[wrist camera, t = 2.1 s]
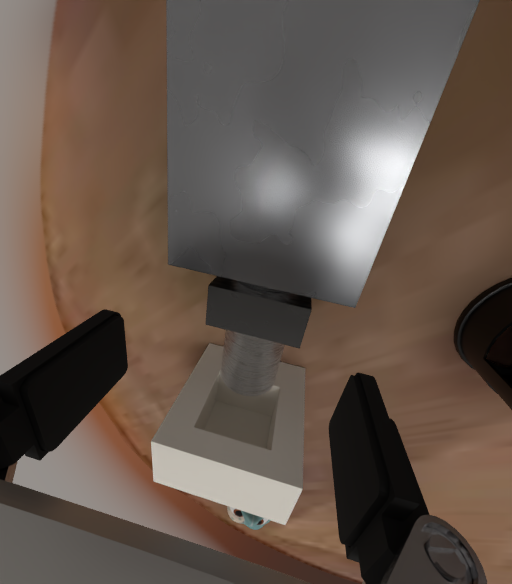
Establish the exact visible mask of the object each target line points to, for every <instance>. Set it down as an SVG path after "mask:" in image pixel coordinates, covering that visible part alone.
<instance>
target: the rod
mask: <svg viewBox="0 0 512 584" xmlns="http://www.w3.org/2000/svg"><path fill="white" fill-rule="evenodd" d="M310 313H311V297H306V296H302V295H298V294H293V293H289V292H285V291H280V290H276V289H272V288H268V287H263V286H259V285H255V284H250V283H246V282H242V281H237V280H233V279H229V278H225V277H220V276H217V277H216V278H215V279H214V280H213V281H212V282H211V283H210V284H209V287H208V300H207V313H206V325H210V326H214V327H218V328H222V329H226V332H225V340H224V348H223V356H222V364H221V378H222V380H223V382H224V384H225V385H226V386H227V387H228V388H229V389H230V390H232V391H233V392H235V393H237V394H240V395H244V396H258V395H262V394H264V393H266V392H267V391H269V390H270V389H271V388H272V386H273V385H274V382H275V379H276V375H277V371H278V368H279V364H280V360H281V357H282V353H283V349H284V346H285V345H288V346H292V347H296V348H300V345H301V342H302V339H303V336H304V332H305V329H306V326H307V323H308V319H309V316H310Z"/></svg>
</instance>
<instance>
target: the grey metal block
mask: <svg viewBox="0 0 512 584" xmlns="http://www.w3.org/2000/svg"><path fill="white" fill-rule="evenodd" d="M479 1H480V0H167V154H168V264H169V265H173V266H177V267H182V268H186V269H190V270H194V271H199V272H203V273H207V274H212V275H216V276H220V277H225V278H229V279H233V280H237V281H242V282H246V283H250V284H255V285H259V286H263V287H268V288H272V289H276V290H280V291H285V292H289V293H293V294H298V295H302V296H306V297H311V298H315V299H319V300H323V301H328V302H332V303H336V304H341V305H345V306H349V307H354V308H355V307H356V304H357V302H358V299H359V297H360V294H361V292H362V289H363V287H364V284H365V282H366V280H367V277H368V275H369V272H370V270H371V267H372V265H373V262H374V260H375V257H376V255H377V252H378V250H379V247H380V245H381V243H382V240H383V238H384V235H385V233H386V230H387V228H388V225H389V223H390V220H391V218H392V215H393V213H394V210H395V208H396V206H397V203H398V201H399V198H400V196H401V193H402V191H403V188H404V186H405V183H406V181H407V178H408V176H409V173H410V171H411V169H412V166H413V164H414V161H415V159H416V156H417V154H418V151H419V149H420V146H421V144H422V141H423V139H424V136H425V134H426V132H427V129H428V127H429V124H430V122H431V119H432V117H433V114H434V112H435V109H436V107H437V104H438V102H439V99H440V97H441V94H442V92H443V90H444V87H445V85H446V82H447V80H448V77H449V75H450V72H451V70H452V67H453V65H454V62H455V60H456V57H457V55H458V53H459V50H460V48H461V45H462V43H463V40H464V38H465V35H466V33H467V30H468V28H469V25H470V23H471V20H472V18H473V16H474V13H475V11H476V8H477V6H478V3H479Z"/></svg>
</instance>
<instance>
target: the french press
mask: <svg viewBox="0 0 512 584" xmlns="http://www.w3.org/2000/svg"><path fill="white" fill-rule="evenodd" d="M511 325H512V278H511V279H509V280H506V281H504V282H502V283H499V284H497V285H495V286H493V287H492V288H490V289H488V290H487V291H485V292H483V293H482V294H481V295H480V296H478V297H477V298H476V299H475V300H474V301H472V302H471V303H470V305H469V306H468V307H467V308H466V309H465V310H464V311H463V313H462V315H461V316H460V318H459V320H458V322H457V325H456V328H455V333H454V342H455V346H456V350H457V352H458V353H459V355H460V357H461V358H462V359H463V360H464V361H465V362H466V363H467V364H468V365H469V366H470V367H471V368H473V369H475V370H476V371H477V372H478V374H479V375H480V376H481V377H482V378H483V380H484V381H485V382H486V383H487V384H488V385H489V386H490V387H491V388H492V389H493V390H494V391H495V392H496V393H497V394H499V396H500V397H501V398H502V399H503V400H504V401H505V403H506V404H507V405H508V406H509V407H510V408H511V410H512V366H505V365H500V364H497V363H494V362H491V361H490V360H488V359H486V358H487V355H488V353H489V350H490V348H491V346H492V345H493V344H494V342H495V341H496V339H497V338H498V337H499V336H500V335H501V334H502V333H503V332H504V331H505V330H506V329H507V328H509V327H510V326H511Z"/></svg>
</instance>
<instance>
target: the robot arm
mask: <svg viewBox="0 0 512 584" xmlns="http://www.w3.org/2000/svg"><path fill="white" fill-rule="evenodd" d="M127 368H128V363H127V352H126V341H125V330H124V320H123V318H122V317H121V315H120V314H119V313H118V312H114V311H110V310H102V311H100V312H98V313H97V314H95V315H94V316H92V317H91V318H89V319H88V320H86V321H84V322H83V323H81V324H80V325H78V326H77V327H75V328H74V329H72V330H70V331H69V332H67V333H66V334H64V335H63V336H61V337H60V338H58V339H56V340H55V341H53V342H52V343H50V344H49V345H47V346H46V347H44V348H43V349H41V350H40V351H38V352H37V353H35V354H33V355H32V356H30V357H29V358H27V359H25V360H24V361H22V362H21V363H19V364H18V365H16V366H15V367H13V368H11V369H10V370H8V371H7V372H5V373H4V374H2V375H1V376H0V584H311V583H308V582H306V581H303V580H300V579H297V578H294V577H292V576H289V575H286V574H283V573H281V572H278V571H275V570H272V569H269V568H266V567H263V566H260V565H257V564H254V563H251V562H248V561H246V560H243V559H240V558H237V557H234V556H231V555H228V554H225V553H222V552H219V551H216V550H213V549H210V548H207V547H204V546H201V545H198V544H195V543H192V542H189V541H186V540H183V539H180V538H177V537H174V536H171V535H168V534H165V533H162V532H159V531H156V530H153V529H150V528H147V527H144V526H141V525H138V524H135V523H132V522H129V521H126V520H123V519H120V518H117V517H114V516H111V515H108V514H105V513H102V512H99V511H96V510H93V509H90V508H87V507H84V506H81V505H78V504H74V503H72V502H69V501H65V500H62V499H60V498H56V497H53V496H50V495H47V494H44V493H41V492H38V491H35V490H32V489H29V488H26V487H23V486H20V485H16V484H13V483H12V481H13V477H14V473H15V469H16V464H17V461H18V460H19V459H20V458H21V456H23V455H24V454H25V455H26V456H28V457H31V458H34V459H37V460H41V459H42V458H43V457H44V456H45V455H46V454H47V453H48V452H49V451H53V450H54V449H56V448H57V447H58V446H59V445H60V444H61V442H62V441H63V440H64V439H65V438H66V437H67V436H68V435H69V434H70V433H71V432H72V431H73V430H74V428H75V427H76V426H77V425H78V424H79V423H80V422H81V421H82V420H83V419H84V418H85V416H86V415H87V414H88V413H89V412H90V411H91V410H92V409H93V408H94V407H95V406H96V404H98V403H99V401H100V400H101V399H102V398H103V397H104V396H105V395H106V394H107V393H108V392H109V391H110V390H111V388H112V387H113V386H114V385H115V384H116V383H117V382H118V381H119V380H120V379H121V378H122V377H123V375H124V374H125V373H126V371H127ZM329 437H330V448H331V458H332V468H333V478H334V489H335V499H336V509H337V520H338V530H339V538H340V541H341V543H342V544H345V546H346V555H347V559H350V560H353V561H356V562H359V563H360V570H361V577H362V578H363V580H364V581H363V583H362V584H487V579H486V576H485V573H484V570H483V567H482V565H481V563H480V561H479V559H478V557H477V555H476V553H475V552H474V550H473V549H472V548H471V546H470V545H469V543H468V542H467V540H466V539H465V538H464V537H463V536H462V535H461V534H460V533H459V532H458V531H457V530H456V529H455V528H454V527H452V526H451V525H450V524H448V523H447V522H446V521H444V520H442V519H440V518H438V517H436V516H432V515H429V512H428V509H427V507H426V504H425V501H424V499H423V496H422V493H421V491H420V488H419V485H418V483H417V480H416V477H415V475H414V472H413V469H412V467H411V464H410V461H409V459H408V456H407V453H406V451H405V448H404V445H403V442H402V440H401V437H400V434H399V432H398V429H397V426H396V424H395V422H394V421H393V420H392V419H389V416H388V413H387V411H386V408H385V405H384V402H383V399H382V397H381V394H380V391H379V388H378V385H377V383H376V380H375V378H374V377H373V376H370V375H366V374H362V373H357V374H356V375H355V376H353V375H351V376H350V378H349V380H348V382H347V384H346V387H345V389H344V391H343V393H342V396H341V398H340V400H339V402H338V404H337V407H336V409H335V411H334V413H333V416H332V418H331V420H330V423H329Z"/></svg>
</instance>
